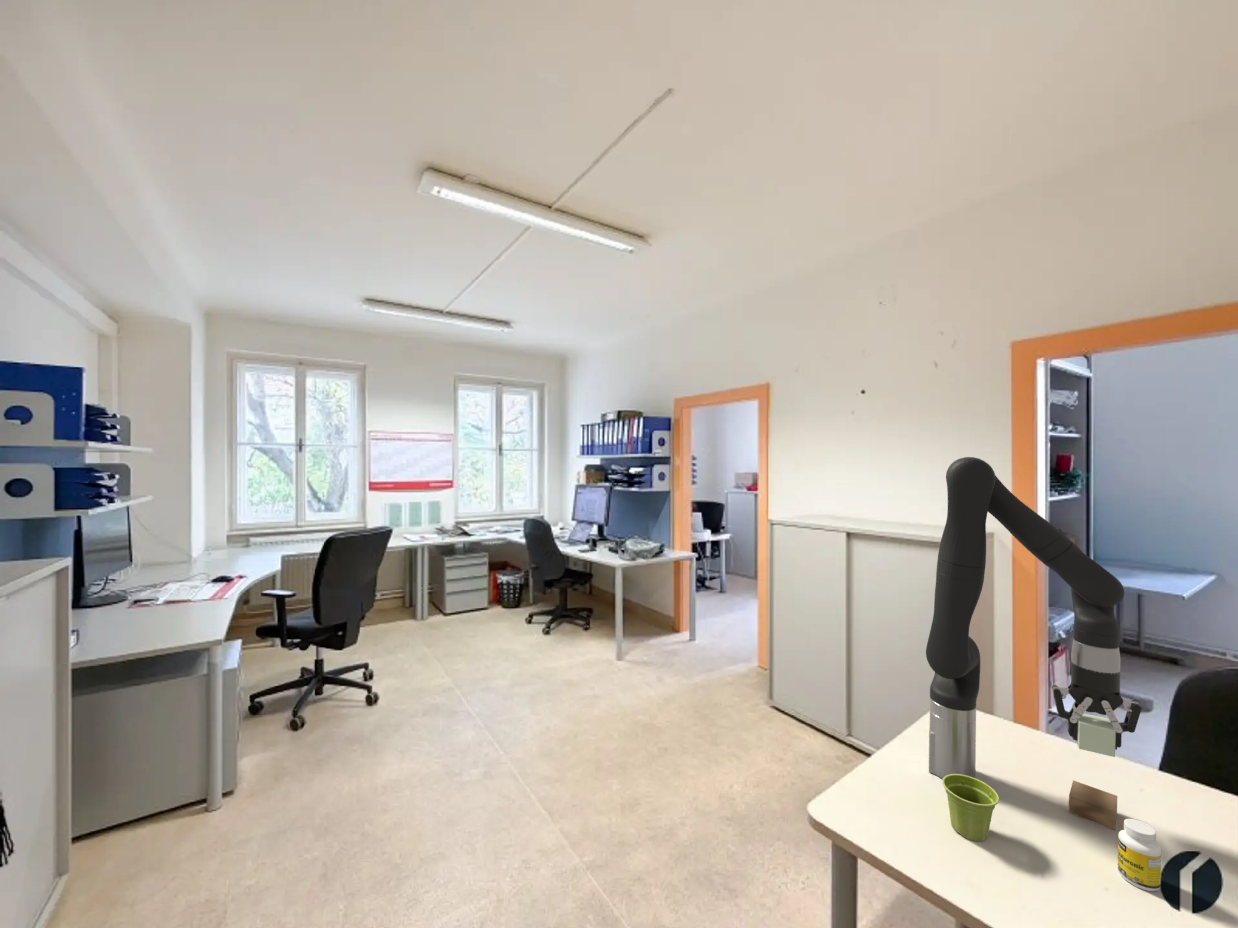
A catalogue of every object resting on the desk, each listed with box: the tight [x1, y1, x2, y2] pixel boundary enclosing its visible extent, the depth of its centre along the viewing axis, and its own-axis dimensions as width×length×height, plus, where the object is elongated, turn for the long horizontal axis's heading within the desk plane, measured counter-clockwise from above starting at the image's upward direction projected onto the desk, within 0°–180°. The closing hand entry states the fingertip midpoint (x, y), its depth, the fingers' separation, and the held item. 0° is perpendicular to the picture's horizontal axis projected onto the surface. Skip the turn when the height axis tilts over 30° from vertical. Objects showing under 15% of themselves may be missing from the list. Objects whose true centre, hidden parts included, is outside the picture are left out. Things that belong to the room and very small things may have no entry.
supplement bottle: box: [1117, 818, 1162, 892], centre depth 91 cm, size 5×5×10 cm
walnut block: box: [1068, 779, 1118, 831], centre depth 108 cm, size 7×7×4 cm
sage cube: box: [1075, 713, 1116, 758], centre depth 107 cm, size 6×6×6 cm
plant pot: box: [941, 774, 1000, 842], centre depth 103 cm, size 9×9×9 cm
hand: (1093, 742), depth 107 cm, fingers closed on sage cube, 5 cm apart
